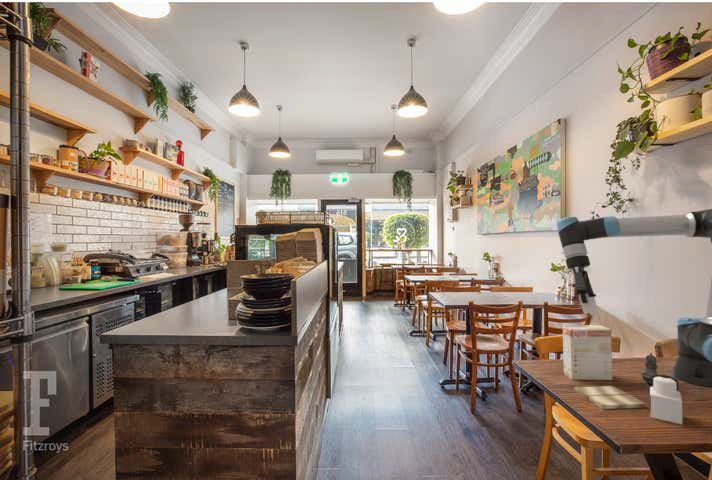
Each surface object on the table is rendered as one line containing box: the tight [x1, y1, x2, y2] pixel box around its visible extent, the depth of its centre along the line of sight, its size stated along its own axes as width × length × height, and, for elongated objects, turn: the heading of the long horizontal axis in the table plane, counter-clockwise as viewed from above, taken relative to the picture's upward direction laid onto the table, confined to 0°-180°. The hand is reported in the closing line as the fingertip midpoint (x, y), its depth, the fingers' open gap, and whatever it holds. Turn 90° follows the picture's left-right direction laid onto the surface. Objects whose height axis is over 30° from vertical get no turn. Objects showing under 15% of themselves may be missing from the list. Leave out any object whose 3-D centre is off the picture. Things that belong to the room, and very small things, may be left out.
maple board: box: [573, 385, 647, 410], centre depth 121 cm, size 14×14×1 cm
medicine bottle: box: [649, 374, 683, 425], centre depth 108 cm, size 7×7×12 cm
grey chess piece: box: [641, 352, 659, 389], centre depth 130 cm, size 6×6×12 cm
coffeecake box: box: [562, 324, 614, 381], centre depth 140 cm, size 15×7×20 cm, turn 84°
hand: (591, 313), depth 129 cm, fingers open, 13 cm apart
